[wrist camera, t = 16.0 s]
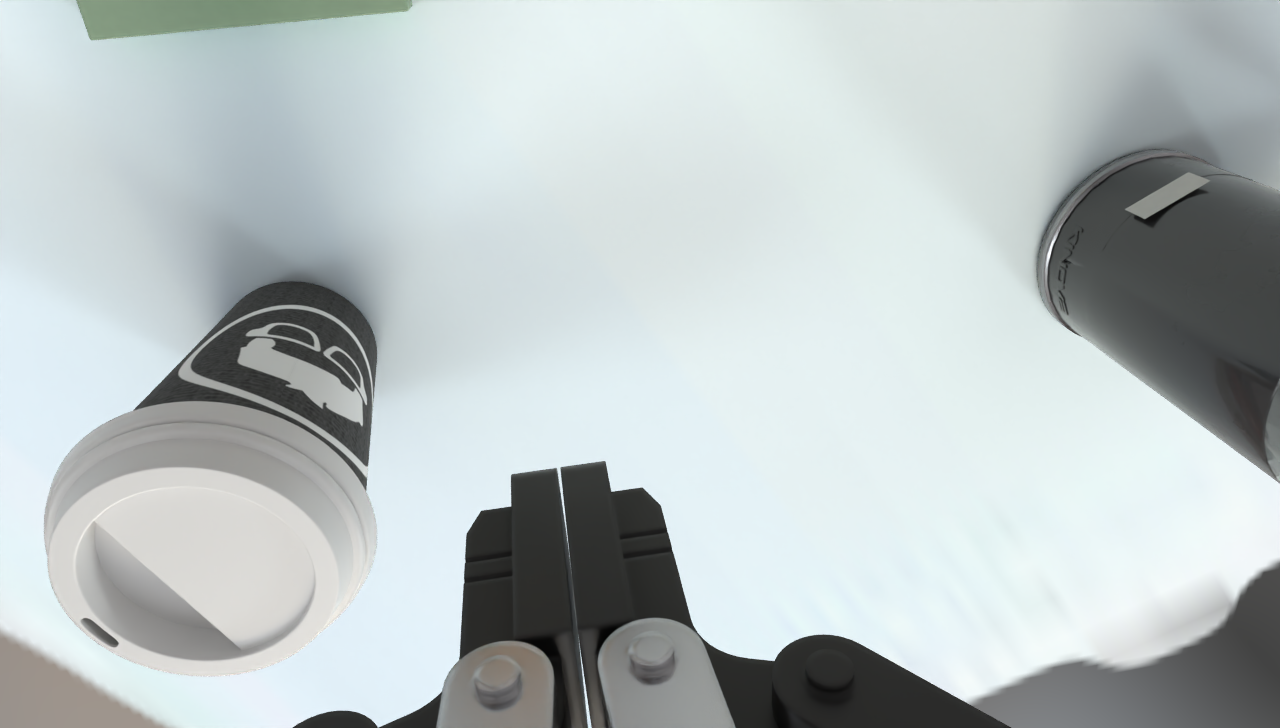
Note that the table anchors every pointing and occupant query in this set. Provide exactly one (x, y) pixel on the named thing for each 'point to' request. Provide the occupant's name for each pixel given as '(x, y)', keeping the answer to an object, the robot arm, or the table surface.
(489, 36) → the table surface
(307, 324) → the coffee cup
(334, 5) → the button box
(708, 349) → the table surface
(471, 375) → the table surface
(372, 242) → the table surface
